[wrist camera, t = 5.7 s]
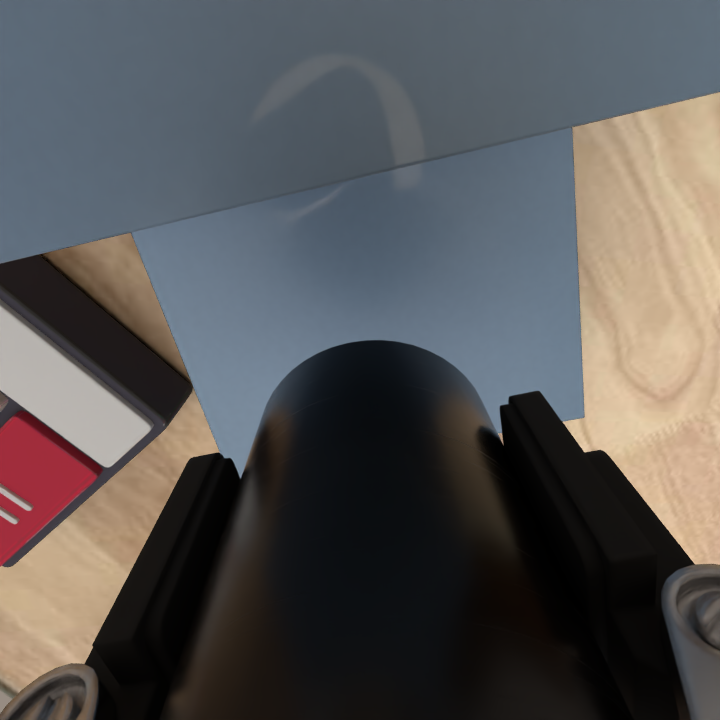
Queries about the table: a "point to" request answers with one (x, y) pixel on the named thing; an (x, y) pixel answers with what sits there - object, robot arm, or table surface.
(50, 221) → the blue-grey angular block
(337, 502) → the dark jar with lid
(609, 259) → the table surface
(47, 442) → the calculator
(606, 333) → the table surface
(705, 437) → the table surface
